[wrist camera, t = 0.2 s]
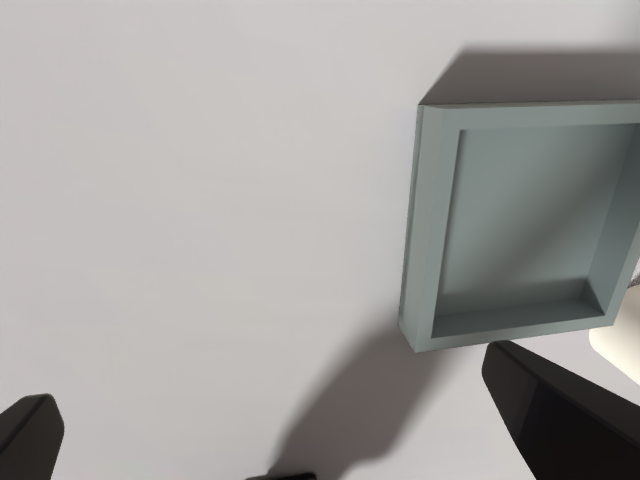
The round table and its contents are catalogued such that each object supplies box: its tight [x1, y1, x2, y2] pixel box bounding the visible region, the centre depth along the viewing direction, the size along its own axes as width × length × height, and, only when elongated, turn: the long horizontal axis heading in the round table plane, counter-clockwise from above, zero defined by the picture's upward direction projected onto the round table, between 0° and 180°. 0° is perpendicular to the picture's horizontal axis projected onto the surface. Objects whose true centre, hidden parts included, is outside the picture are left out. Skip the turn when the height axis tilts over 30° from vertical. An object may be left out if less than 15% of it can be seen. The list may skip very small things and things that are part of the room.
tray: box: [398, 99, 640, 353], centre depth 23 cm, size 15×15×3 cm
